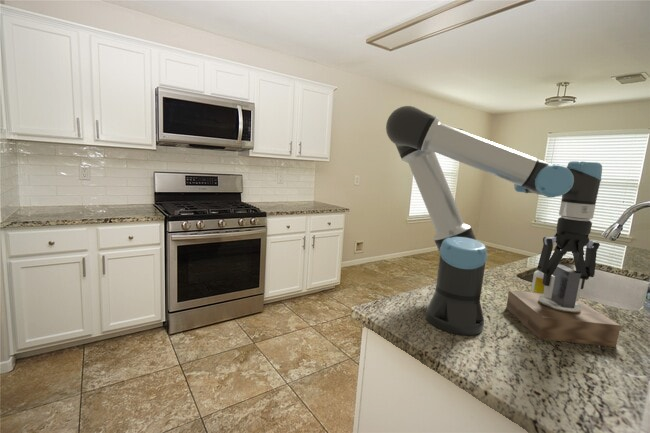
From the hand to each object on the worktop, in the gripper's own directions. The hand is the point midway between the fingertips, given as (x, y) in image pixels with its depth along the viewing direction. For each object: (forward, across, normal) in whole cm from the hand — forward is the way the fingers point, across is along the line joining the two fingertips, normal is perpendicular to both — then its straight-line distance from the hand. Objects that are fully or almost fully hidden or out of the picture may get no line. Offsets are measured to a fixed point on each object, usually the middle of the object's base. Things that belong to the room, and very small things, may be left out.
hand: (560, 297), depth 93 cm
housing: (+8, 0, 0) cm, 8 cm away
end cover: (+7, 0, 0) cm, 7 cm away
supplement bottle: (+9, +6, +19) cm, 22 cm away
